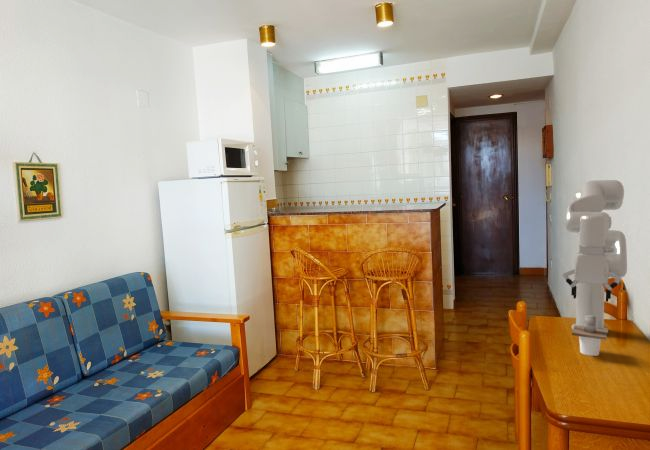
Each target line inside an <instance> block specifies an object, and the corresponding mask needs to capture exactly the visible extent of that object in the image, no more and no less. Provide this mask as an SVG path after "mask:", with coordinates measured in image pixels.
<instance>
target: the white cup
mask: <svg viewBox="0 0 650 450" xmlns="http://www.w3.org/2000/svg"><path fill="white" fill-rule="evenodd" d="M578 340H579V351H580V353H581V354H582V355H586V356H589V357H590V356H591V357H594V356H595V357H596V356H599V355H600V349H601V341H602V339H597V338H590V337H582V336H578Z"/></svg>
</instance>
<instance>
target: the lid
mask: <svg viewBox="0 0 650 450" xmlns="http://www.w3.org/2000/svg"><path fill="white" fill-rule="evenodd" d="M607 329H608V328H607ZM607 329H602V328H596V317H595V316H589V315H587V316H584V326H578V325H575V326H574V329H572V332H571V334H572V336H576V337H579V336H582V337H590V338H597V339H601V340H604V341H607V335H608V333H607Z"/></svg>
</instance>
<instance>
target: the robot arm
mask: <svg viewBox="0 0 650 450" xmlns="http://www.w3.org/2000/svg"><path fill="white" fill-rule="evenodd" d="M624 197H625V189H624V185H623V183H622V182H621V181H619V180H617V179H607V180H603V179H601V180H589V181H586V182H584V183H583V184H582V185H581V187H580V190H579V191H577V192H575V194H574V195H573V202H572V203H570V204H569V205H568V207H567V208H566V210H565V217H564V225H565V229H566V230H567V232H570V233H579V245H578V246H579V247H578V249H579V250H578V253H576V256H575V258H574V269H571V270H569V271H565V272H563V273H562V277H563V278H564V280H565V282H566V284H568V285H569V286H570V287H571V296H572V297H573V300H576V304H575V305H576V306H575V307H576V309H575V310H576V312H575V316H576V319H575V323H573V324H572V325H571V329H572V330H573V329H574V326H575V325H578V326H584V316H587V315H589V316H595V317H596V328H602V329H607V334H608V333H609V329H608V327H606V326H604V325H605V323H604V318H605V302H606V303H608V302H609V300H611V298H612V297H611V296H612V290H613V289H614V288H616V287H617V286H618V284H619V283H620V281H621V280H622V278H623V277H625V276H626V274H627V272H628V254H627V253H628V251H627V239H626V235H625V234H624V232H622V231H621V230H617V229H615V230H613V229H611V228H612V216H610V214H609V213H608V212H604V211H609V210H610V211H615V210H619V209H620V208H621V207H622V206H623V201H624ZM572 275H574V278H573V279H574V280H572V279H571V278H570V277H569V276H572ZM610 278H611V279H614V281H613V282H612V283H609V279H610Z"/></svg>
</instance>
